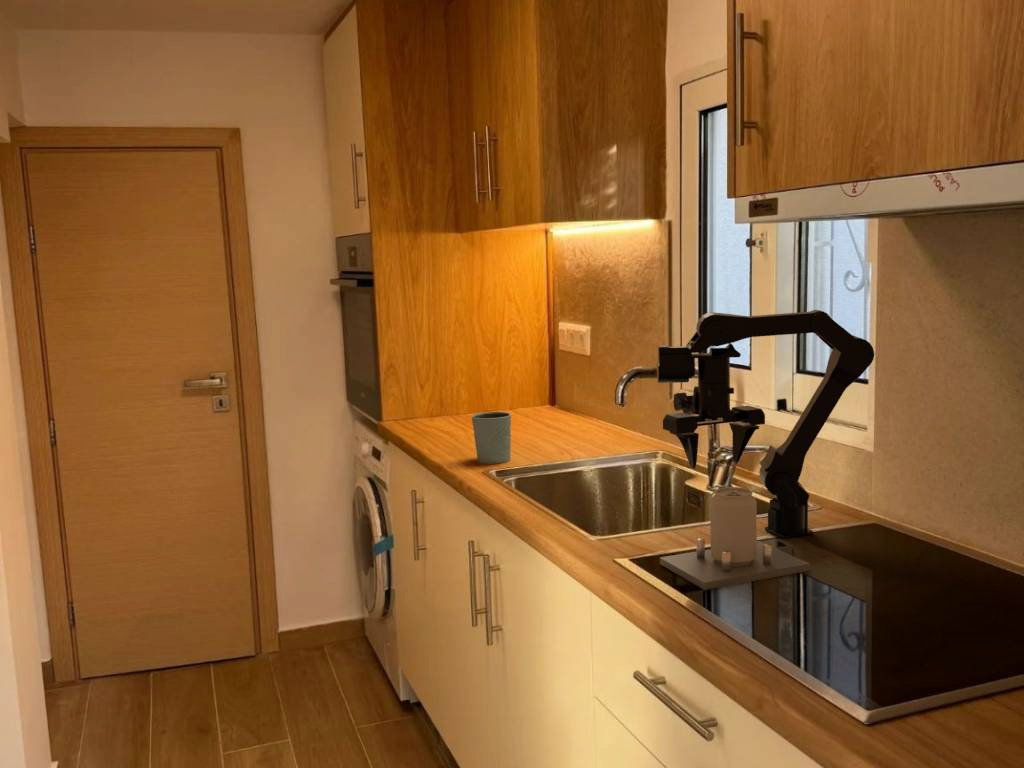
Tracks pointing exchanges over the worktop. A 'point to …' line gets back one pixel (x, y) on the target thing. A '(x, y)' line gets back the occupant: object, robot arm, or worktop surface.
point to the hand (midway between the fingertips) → (714, 465)
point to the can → (733, 525)
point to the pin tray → (713, 574)
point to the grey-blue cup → (492, 437)
